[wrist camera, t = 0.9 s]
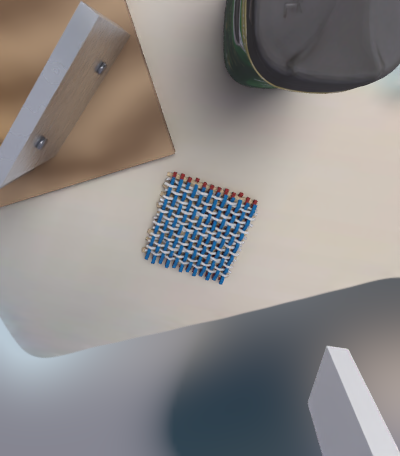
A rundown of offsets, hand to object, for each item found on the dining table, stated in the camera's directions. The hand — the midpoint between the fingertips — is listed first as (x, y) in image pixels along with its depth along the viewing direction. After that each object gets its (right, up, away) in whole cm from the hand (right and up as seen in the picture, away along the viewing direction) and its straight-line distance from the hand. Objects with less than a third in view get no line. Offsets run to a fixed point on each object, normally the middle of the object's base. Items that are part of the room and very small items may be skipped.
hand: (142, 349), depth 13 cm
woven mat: (+2, +5, +26) cm, 26 cm away
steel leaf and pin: (-10, +16, +20) cm, 27 cm away
